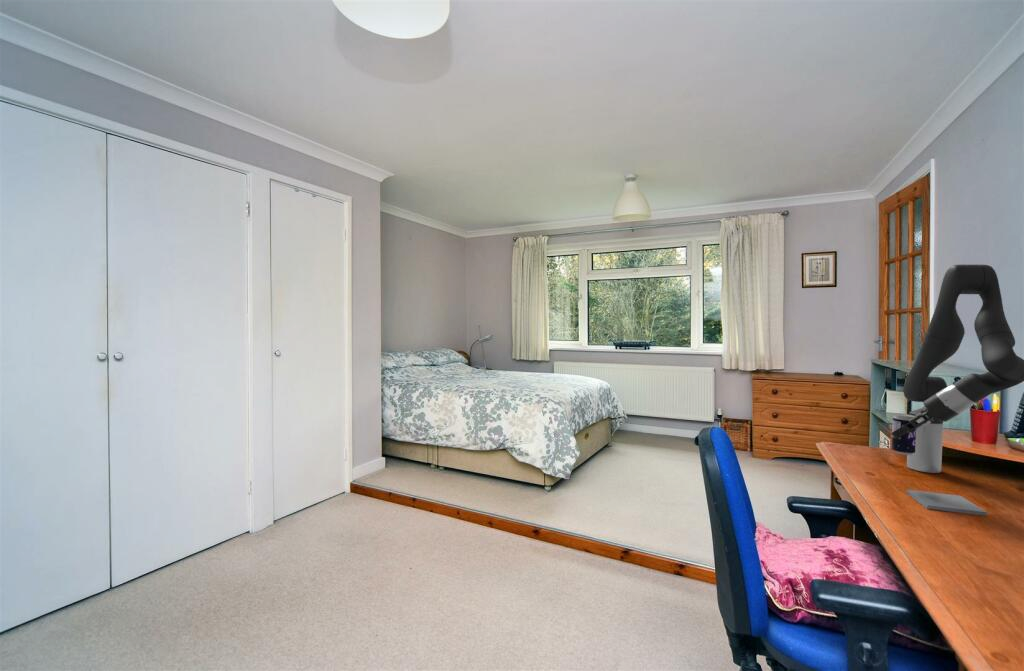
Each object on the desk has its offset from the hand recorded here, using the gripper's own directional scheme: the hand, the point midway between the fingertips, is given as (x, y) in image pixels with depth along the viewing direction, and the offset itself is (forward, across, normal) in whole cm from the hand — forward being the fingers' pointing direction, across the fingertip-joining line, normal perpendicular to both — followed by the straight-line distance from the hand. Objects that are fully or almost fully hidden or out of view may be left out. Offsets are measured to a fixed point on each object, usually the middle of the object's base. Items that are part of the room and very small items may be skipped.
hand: (896, 434), depth 148 cm
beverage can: (+3, 0, +5) cm, 6 cm away
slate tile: (+3, +7, +20) cm, 22 cm away
